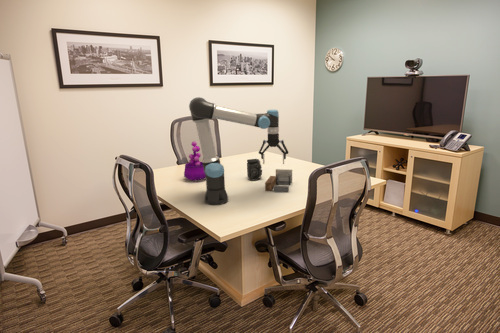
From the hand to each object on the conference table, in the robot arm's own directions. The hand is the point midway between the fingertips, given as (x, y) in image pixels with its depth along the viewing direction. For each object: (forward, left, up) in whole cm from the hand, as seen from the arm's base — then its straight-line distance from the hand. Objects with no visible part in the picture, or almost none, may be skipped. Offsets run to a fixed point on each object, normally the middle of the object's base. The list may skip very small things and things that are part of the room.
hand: (273, 163), depth 226 cm
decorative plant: (-62, +13, -18) cm, 66 cm away
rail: (-2, +2, -18) cm, 18 cm away
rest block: (+6, -6, -18) cm, 19 cm away
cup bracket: (+6, +9, -18) cm, 21 cm away
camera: (-17, +19, -18) cm, 32 cm away
